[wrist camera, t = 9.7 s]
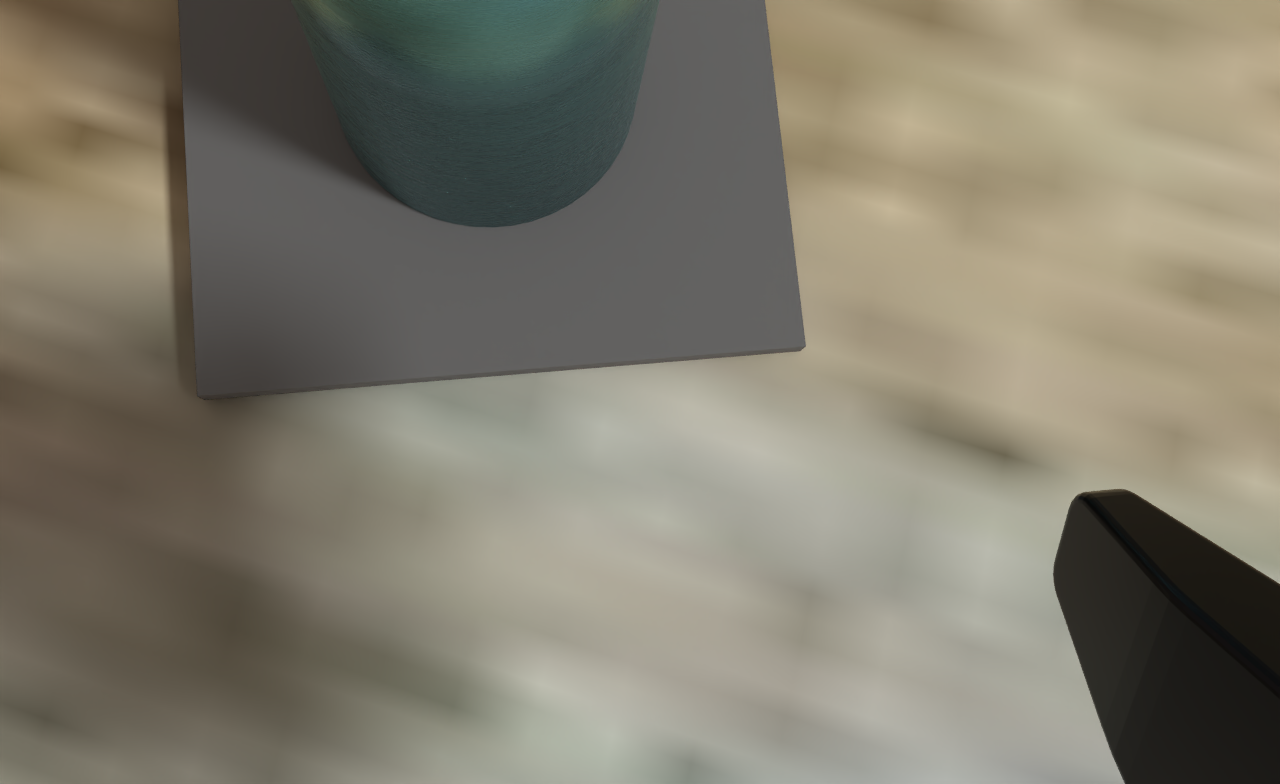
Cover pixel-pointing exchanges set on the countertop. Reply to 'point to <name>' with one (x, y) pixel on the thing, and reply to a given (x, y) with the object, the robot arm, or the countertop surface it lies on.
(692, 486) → the countertop surface
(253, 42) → the mat
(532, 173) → the tin
